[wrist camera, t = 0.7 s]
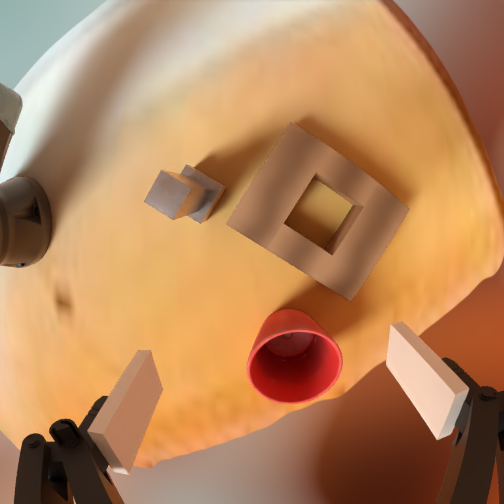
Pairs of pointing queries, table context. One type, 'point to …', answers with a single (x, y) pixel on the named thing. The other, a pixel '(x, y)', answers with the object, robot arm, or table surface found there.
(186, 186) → the grey stepped bar
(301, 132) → the well block
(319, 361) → the flower pot
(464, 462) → the robot arm
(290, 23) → the table surface
